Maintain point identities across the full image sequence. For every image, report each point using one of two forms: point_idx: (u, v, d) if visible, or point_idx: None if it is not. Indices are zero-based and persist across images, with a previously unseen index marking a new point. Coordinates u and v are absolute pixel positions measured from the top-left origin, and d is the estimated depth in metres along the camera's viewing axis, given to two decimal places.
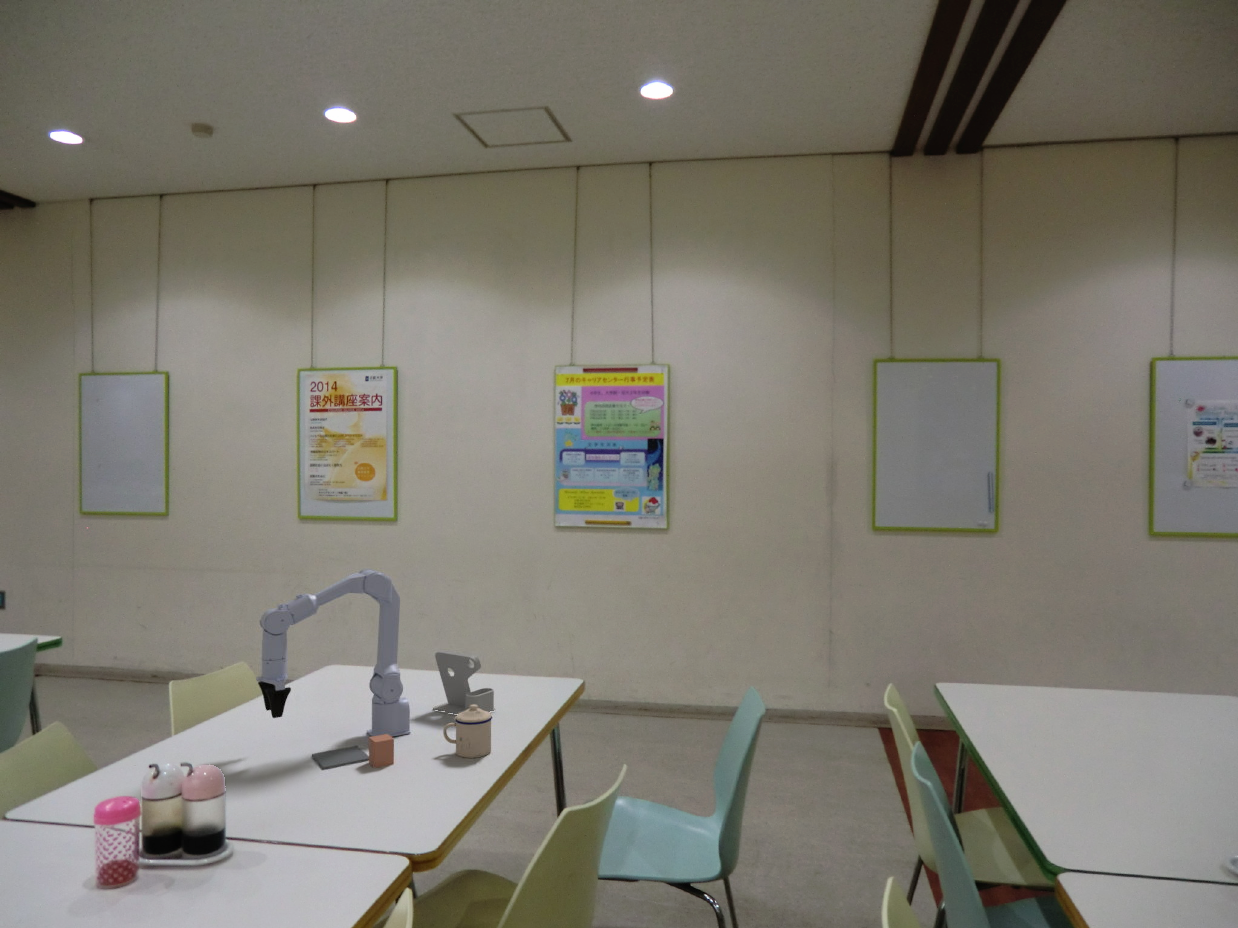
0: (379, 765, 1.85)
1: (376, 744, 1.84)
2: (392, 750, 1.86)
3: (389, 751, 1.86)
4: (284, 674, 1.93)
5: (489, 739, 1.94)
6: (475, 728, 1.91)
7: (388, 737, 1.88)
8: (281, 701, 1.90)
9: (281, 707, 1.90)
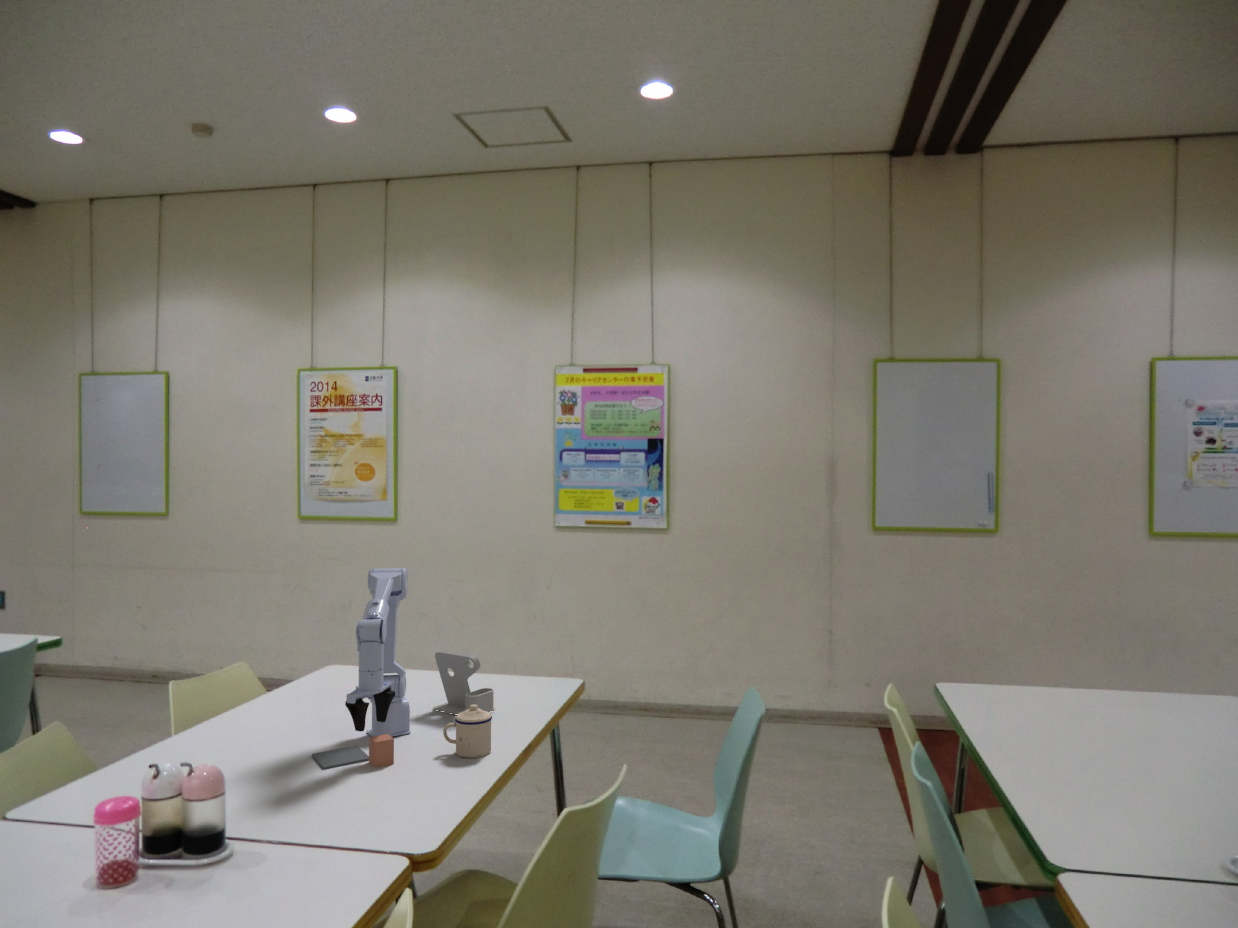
0: (379, 765, 1.85)
1: (376, 744, 1.84)
2: (392, 750, 1.86)
3: (389, 751, 1.86)
4: (371, 688, 1.85)
5: (489, 739, 1.94)
6: (475, 728, 1.91)
7: (388, 737, 1.88)
8: (361, 715, 1.84)
9: (361, 721, 1.84)
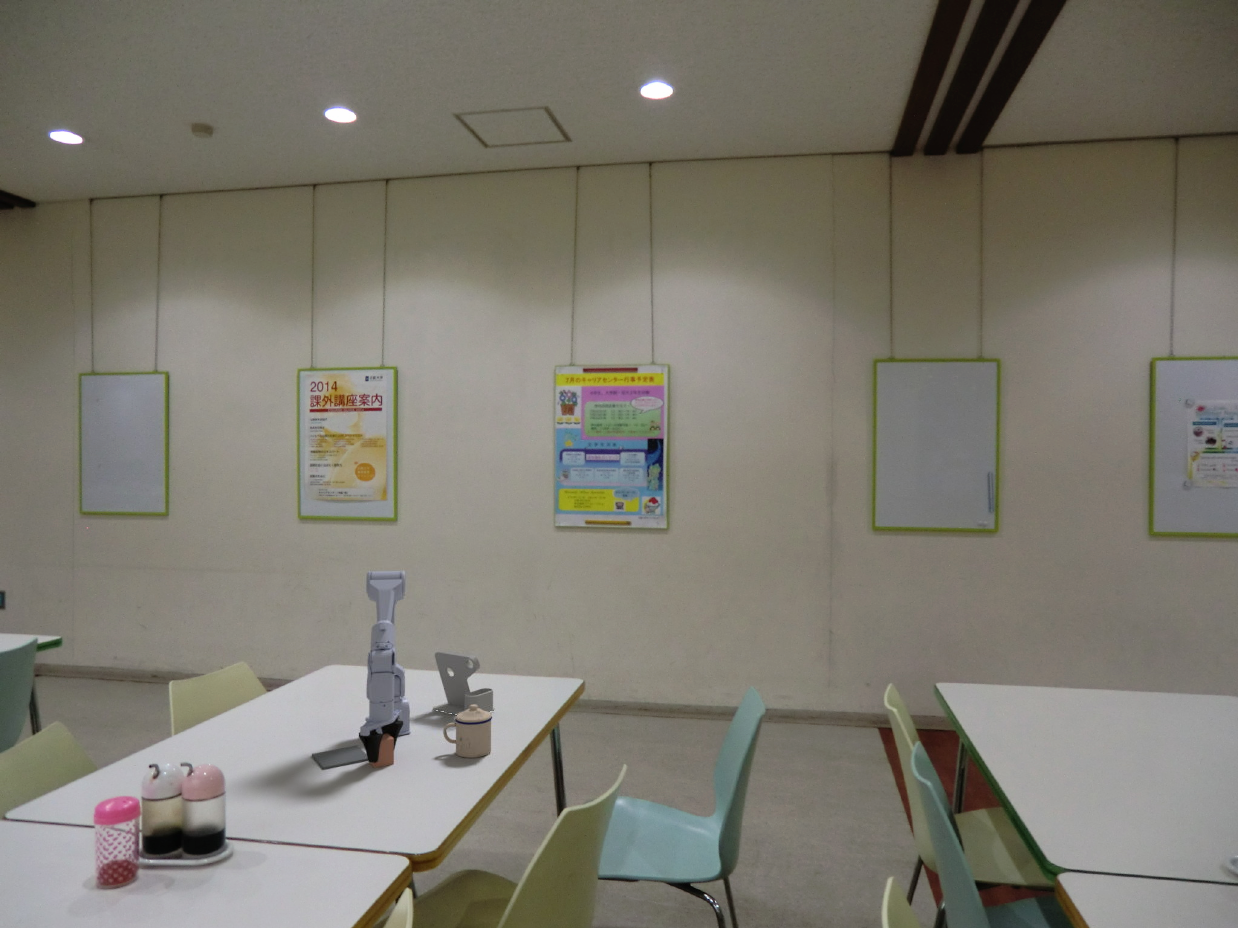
0: (379, 765, 1.85)
1: None
2: (392, 750, 1.86)
3: (389, 750, 1.86)
4: (383, 719, 1.85)
5: (489, 739, 1.94)
6: (475, 728, 1.91)
7: (388, 737, 1.88)
8: (374, 746, 1.83)
9: (374, 753, 1.83)
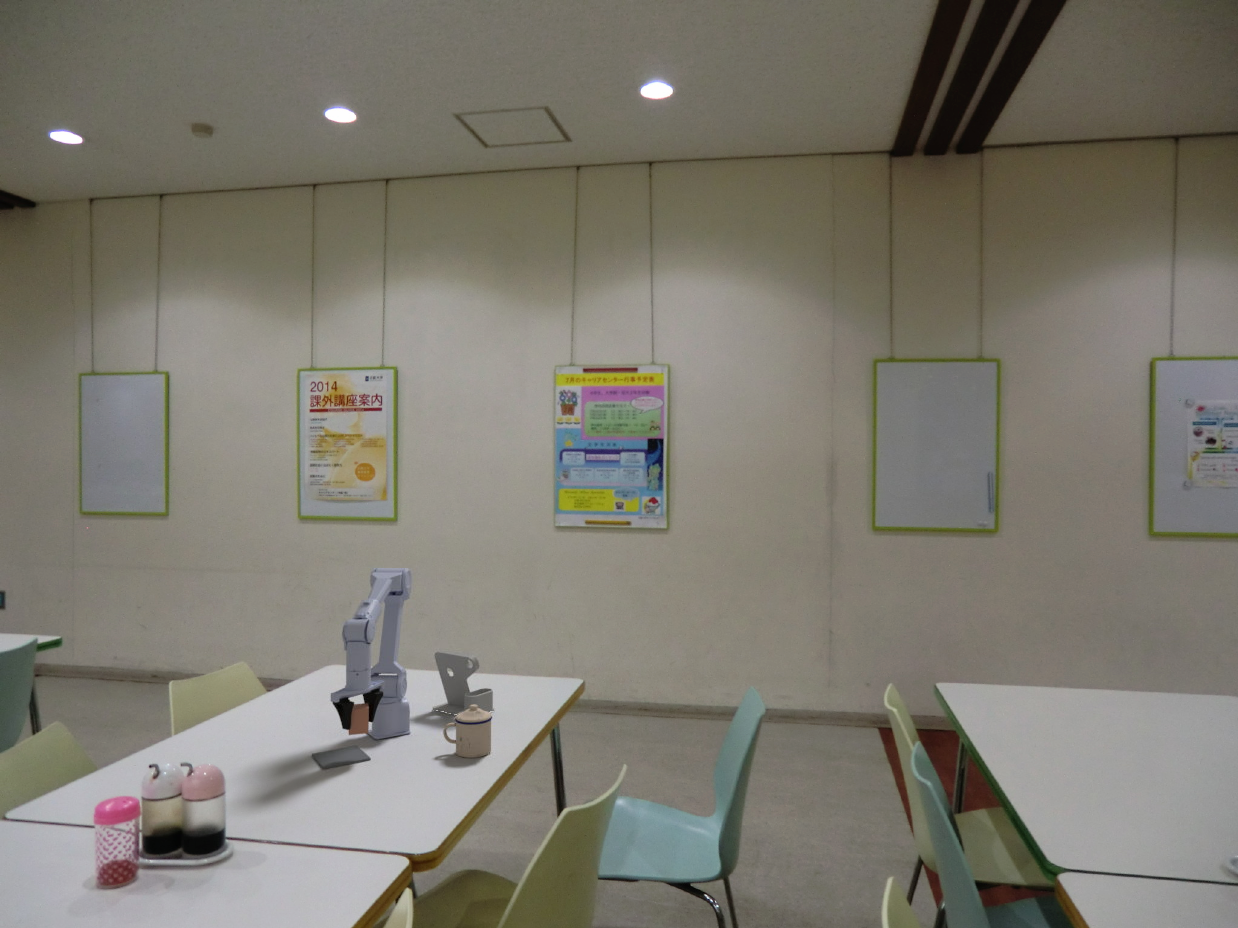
0: (353, 733, 1.87)
1: None
2: (367, 719, 1.88)
3: (364, 719, 1.88)
4: (356, 687, 1.87)
5: (489, 739, 1.94)
6: (475, 728, 1.91)
7: (365, 706, 1.89)
8: None
9: (346, 720, 1.86)
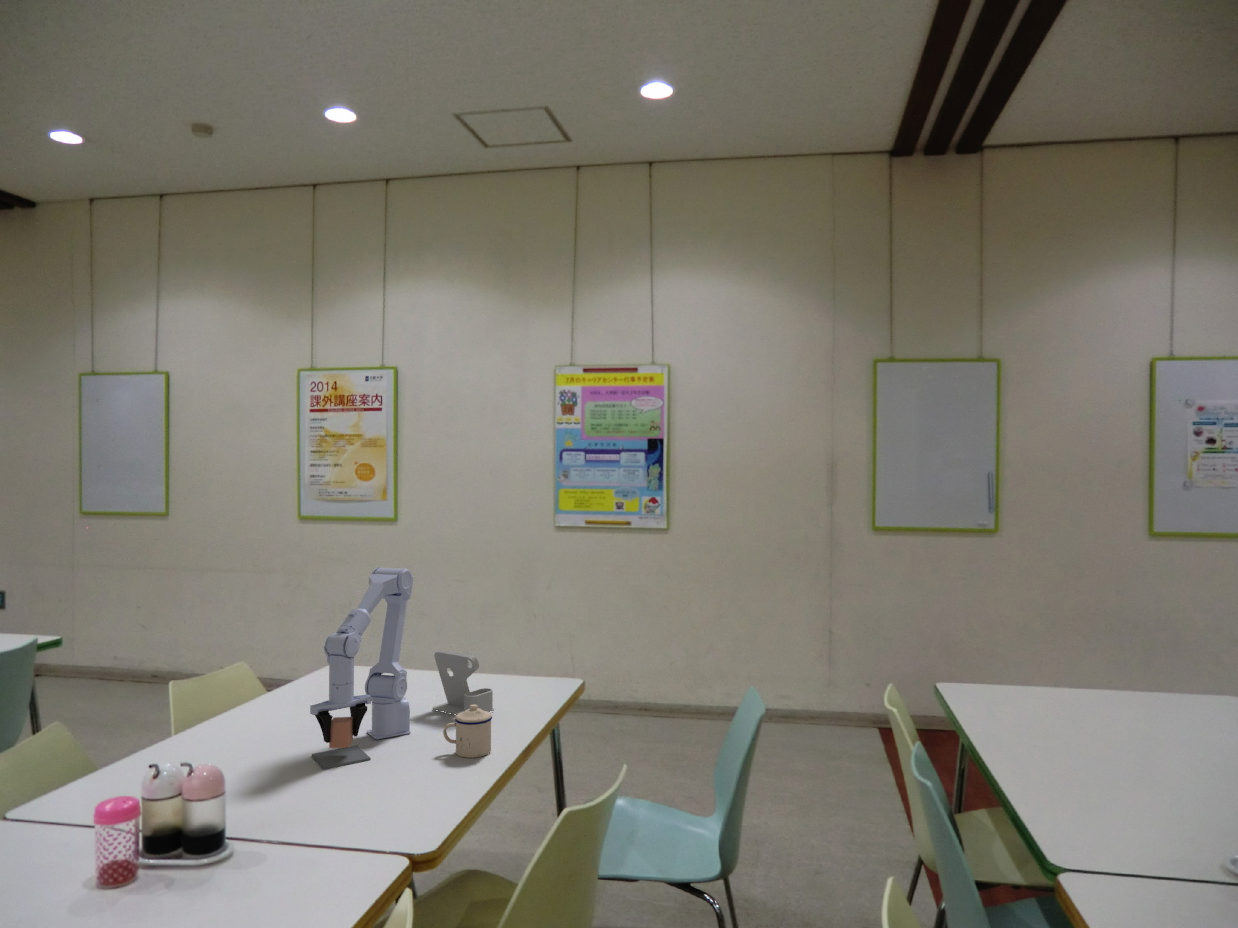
0: (333, 746, 1.88)
1: None
2: (347, 733, 1.88)
3: (344, 733, 1.88)
4: (336, 701, 1.88)
5: (489, 739, 1.94)
6: (475, 728, 1.91)
7: (347, 720, 1.90)
8: None
9: (326, 733, 1.87)
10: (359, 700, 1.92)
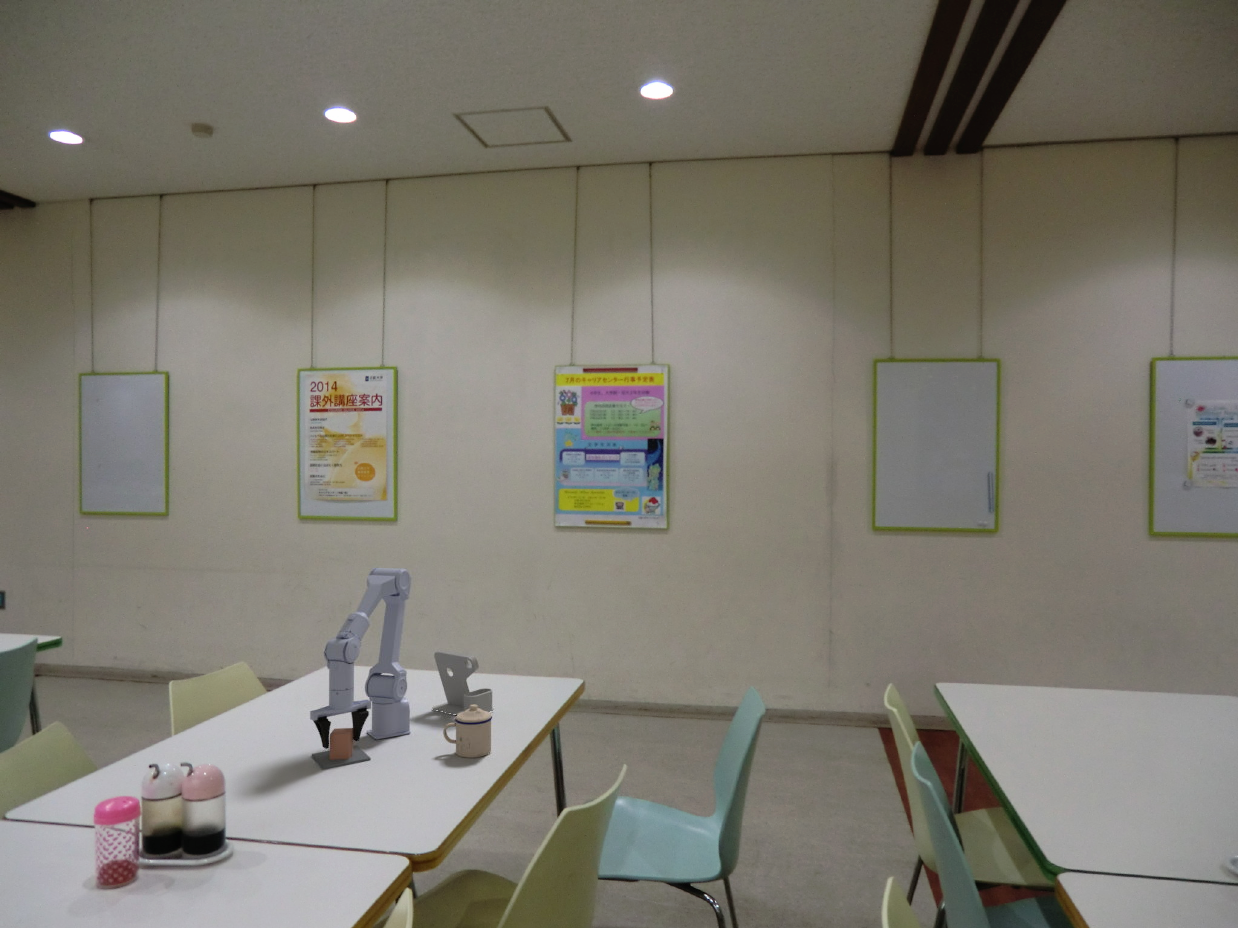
0: (334, 757, 1.88)
1: (331, 736, 1.88)
2: (347, 745, 1.89)
3: (344, 745, 1.88)
4: (336, 707, 1.88)
5: (489, 739, 1.94)
6: (475, 728, 1.91)
7: (347, 731, 1.90)
8: None
9: (324, 739, 1.87)
10: (359, 705, 1.92)
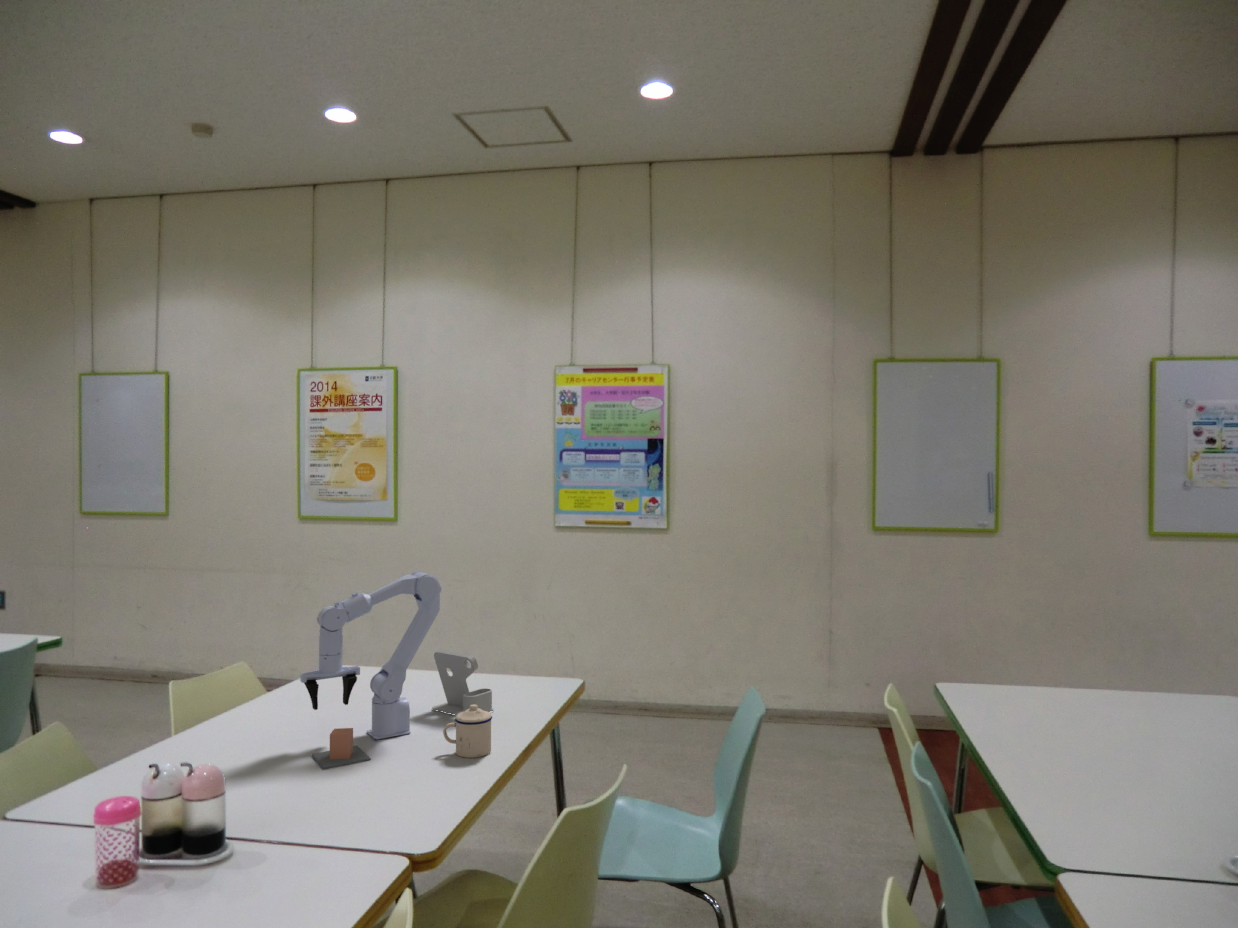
0: (334, 757, 1.88)
1: (331, 736, 1.88)
2: (347, 745, 1.89)
3: (344, 745, 1.88)
4: (324, 671, 1.99)
5: (489, 739, 1.94)
6: (475, 728, 1.91)
7: (347, 731, 1.90)
8: None
9: (313, 700, 1.99)
10: (347, 671, 2.03)
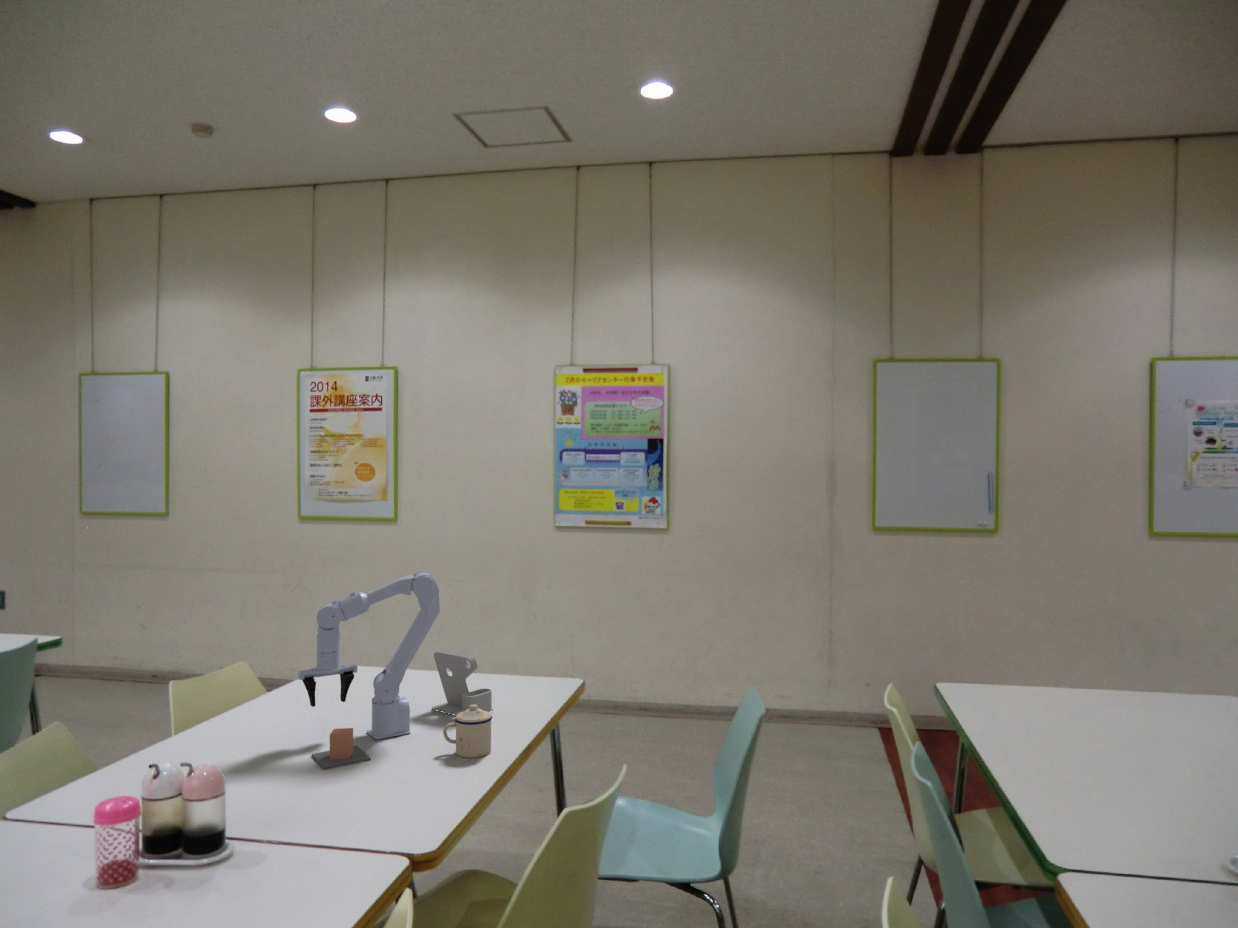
0: (334, 757, 1.88)
1: (331, 736, 1.88)
2: (347, 745, 1.89)
3: (344, 745, 1.88)
4: (322, 668, 2.02)
5: (489, 739, 1.94)
6: (475, 728, 1.91)
7: (347, 731, 1.90)
8: None
9: None
10: (345, 668, 2.05)
